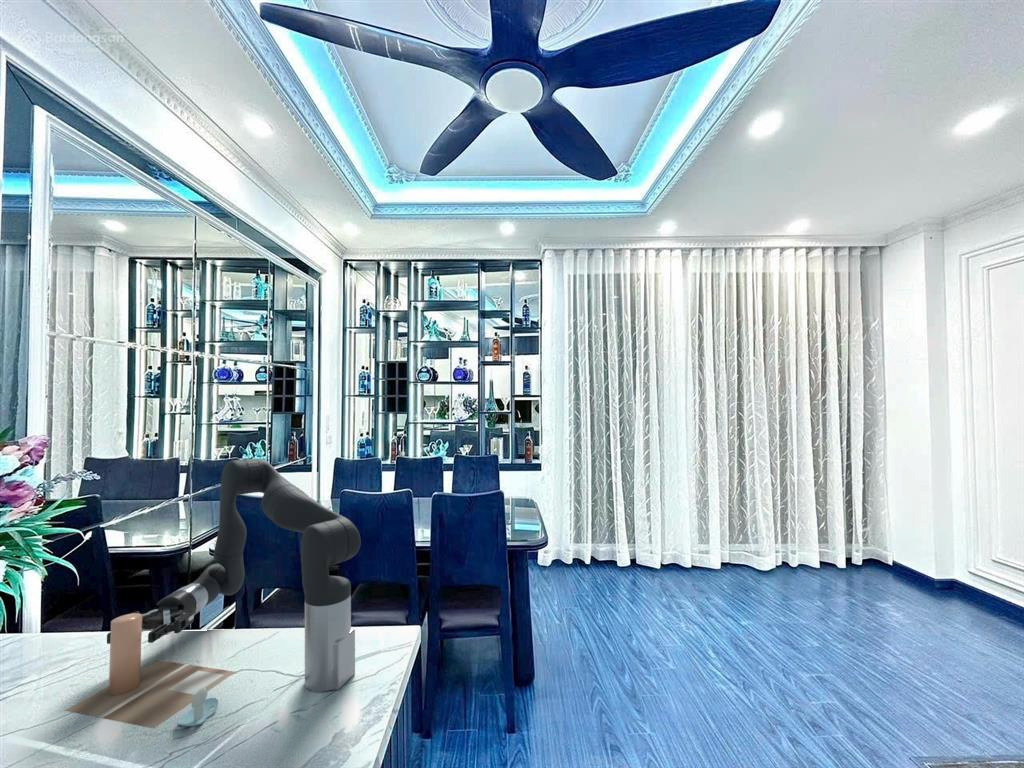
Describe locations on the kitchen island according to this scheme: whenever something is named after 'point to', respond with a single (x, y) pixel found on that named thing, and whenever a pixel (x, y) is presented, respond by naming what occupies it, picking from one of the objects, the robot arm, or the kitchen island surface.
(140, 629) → the cylinder
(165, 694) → the board
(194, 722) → the pacifier
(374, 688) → the kitchen island surface
